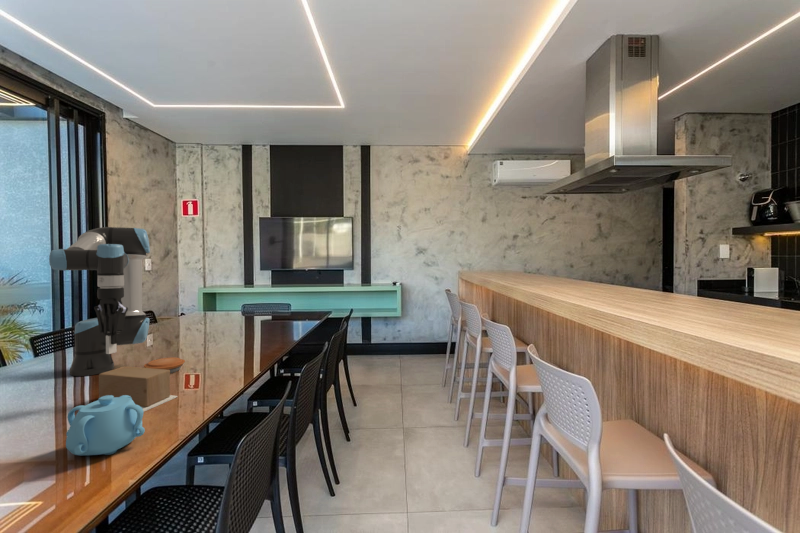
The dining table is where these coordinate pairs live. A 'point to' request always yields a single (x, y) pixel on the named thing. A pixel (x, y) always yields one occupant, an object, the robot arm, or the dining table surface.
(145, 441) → the dining table surface
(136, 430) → the decorative pot
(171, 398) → the mat
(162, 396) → the wooden block
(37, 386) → the dining table surface
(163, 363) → the pie
